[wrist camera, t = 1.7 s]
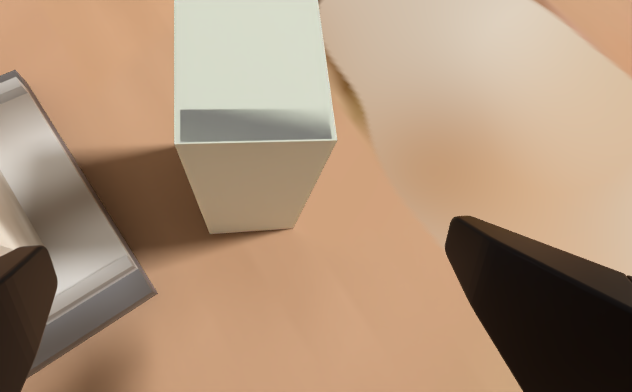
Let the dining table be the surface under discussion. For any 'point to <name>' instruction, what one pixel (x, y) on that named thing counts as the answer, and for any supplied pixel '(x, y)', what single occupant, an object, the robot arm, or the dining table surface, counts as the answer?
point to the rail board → (61, 226)
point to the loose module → (251, 109)
